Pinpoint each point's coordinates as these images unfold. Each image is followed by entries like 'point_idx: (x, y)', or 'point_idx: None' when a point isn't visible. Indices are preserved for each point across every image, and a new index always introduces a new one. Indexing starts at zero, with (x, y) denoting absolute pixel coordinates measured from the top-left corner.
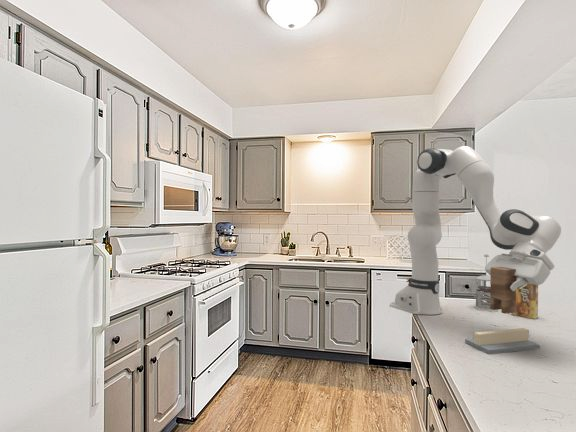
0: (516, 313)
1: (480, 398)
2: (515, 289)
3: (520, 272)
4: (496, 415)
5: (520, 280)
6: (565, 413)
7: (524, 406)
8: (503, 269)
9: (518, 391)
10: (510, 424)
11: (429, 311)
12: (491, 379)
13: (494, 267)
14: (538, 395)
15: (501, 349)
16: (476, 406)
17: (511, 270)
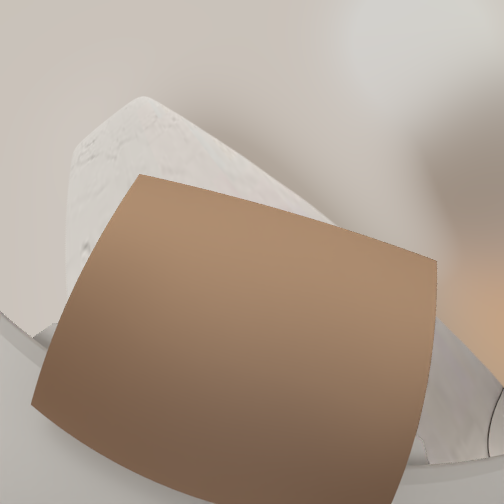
0: None
1: (159, 121)
2: None
3: (4, 361)
4: (135, 111)
5: (50, 330)
6: (75, 166)
7: (113, 143)
8: (164, 191)
9: (125, 168)
10: (121, 111)
11: (501, 409)
12: (166, 168)
13: (408, 307)
14: (101, 179)
15: None
16: (156, 108)
17: (75, 315)
